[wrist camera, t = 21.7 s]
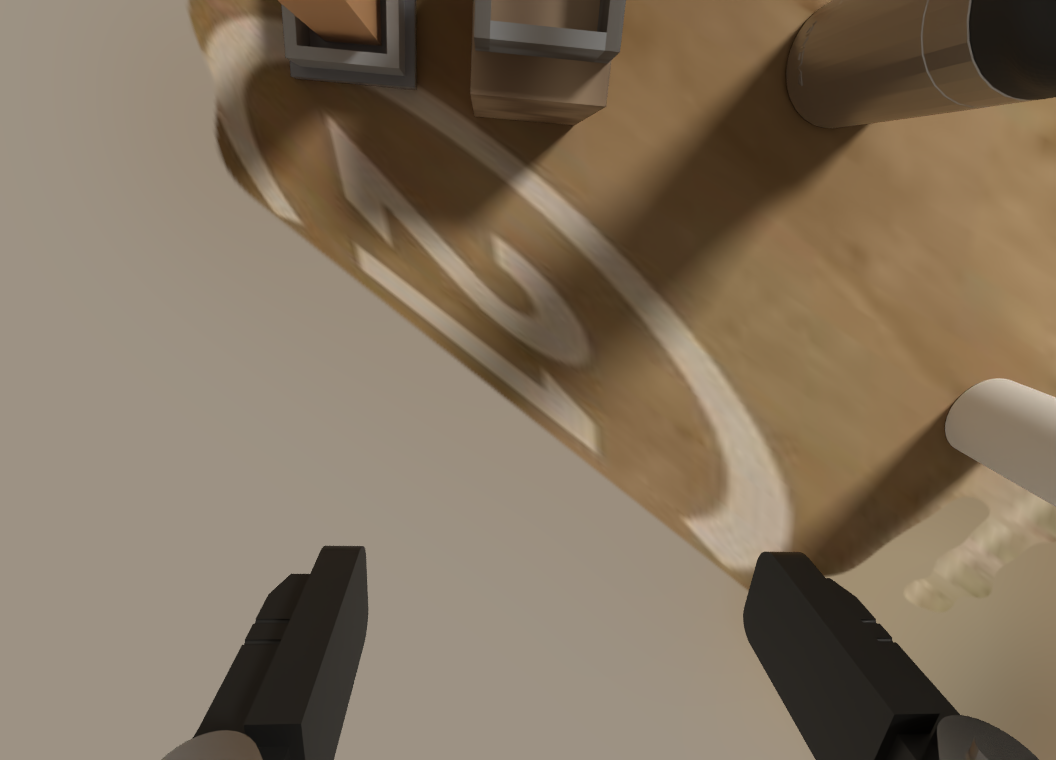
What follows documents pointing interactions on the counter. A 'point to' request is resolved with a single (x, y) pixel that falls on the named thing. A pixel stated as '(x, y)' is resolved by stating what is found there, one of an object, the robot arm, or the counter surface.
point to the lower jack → (357, 51)
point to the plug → (340, 19)
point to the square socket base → (543, 58)
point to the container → (1008, 433)
